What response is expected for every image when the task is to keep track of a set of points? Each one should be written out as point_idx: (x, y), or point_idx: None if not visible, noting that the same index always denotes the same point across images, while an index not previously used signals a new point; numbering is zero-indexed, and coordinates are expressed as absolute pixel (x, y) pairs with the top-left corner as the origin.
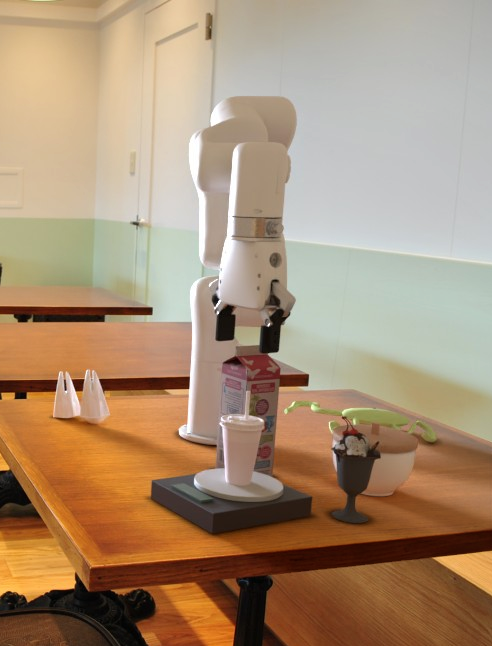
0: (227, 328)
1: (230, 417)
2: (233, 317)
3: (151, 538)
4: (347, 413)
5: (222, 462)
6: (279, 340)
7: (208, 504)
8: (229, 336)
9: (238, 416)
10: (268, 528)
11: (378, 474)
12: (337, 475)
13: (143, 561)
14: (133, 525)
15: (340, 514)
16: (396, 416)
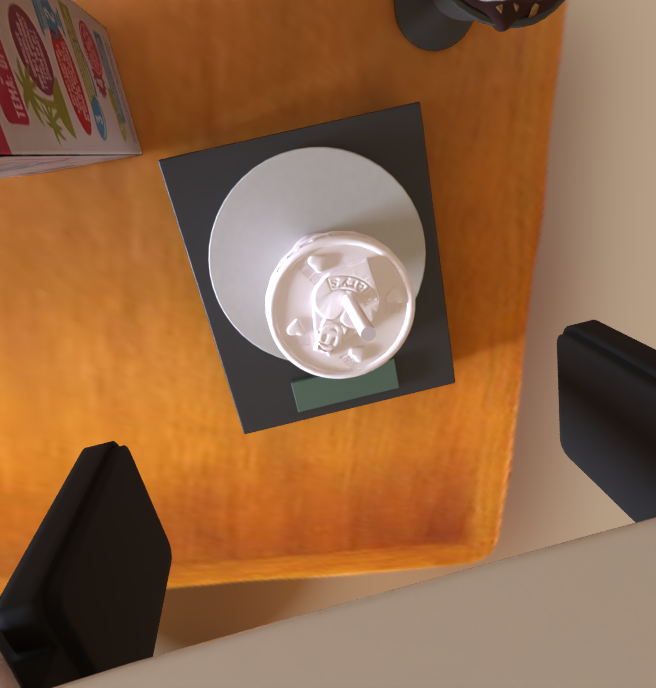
0: (130, 566)
1: (326, 349)
2: (77, 605)
3: (429, 466)
4: None
5: (49, 170)
6: (645, 347)
7: (408, 373)
8: (133, 495)
9: (295, 303)
10: (442, 246)
11: None
12: (456, 15)
13: (502, 499)
14: (370, 478)
15: (435, 30)
16: None
